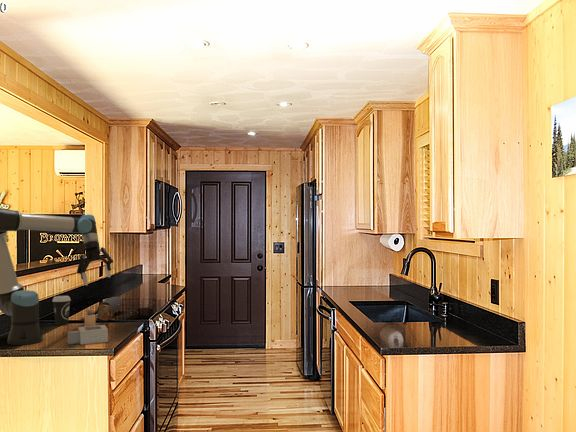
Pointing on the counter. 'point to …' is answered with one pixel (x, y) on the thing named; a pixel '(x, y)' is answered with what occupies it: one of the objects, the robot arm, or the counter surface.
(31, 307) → the robot arm
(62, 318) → the coffee cup
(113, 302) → the bluetooth speaker
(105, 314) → the tin
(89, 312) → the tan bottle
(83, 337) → the motor housing
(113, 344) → the counter surface
